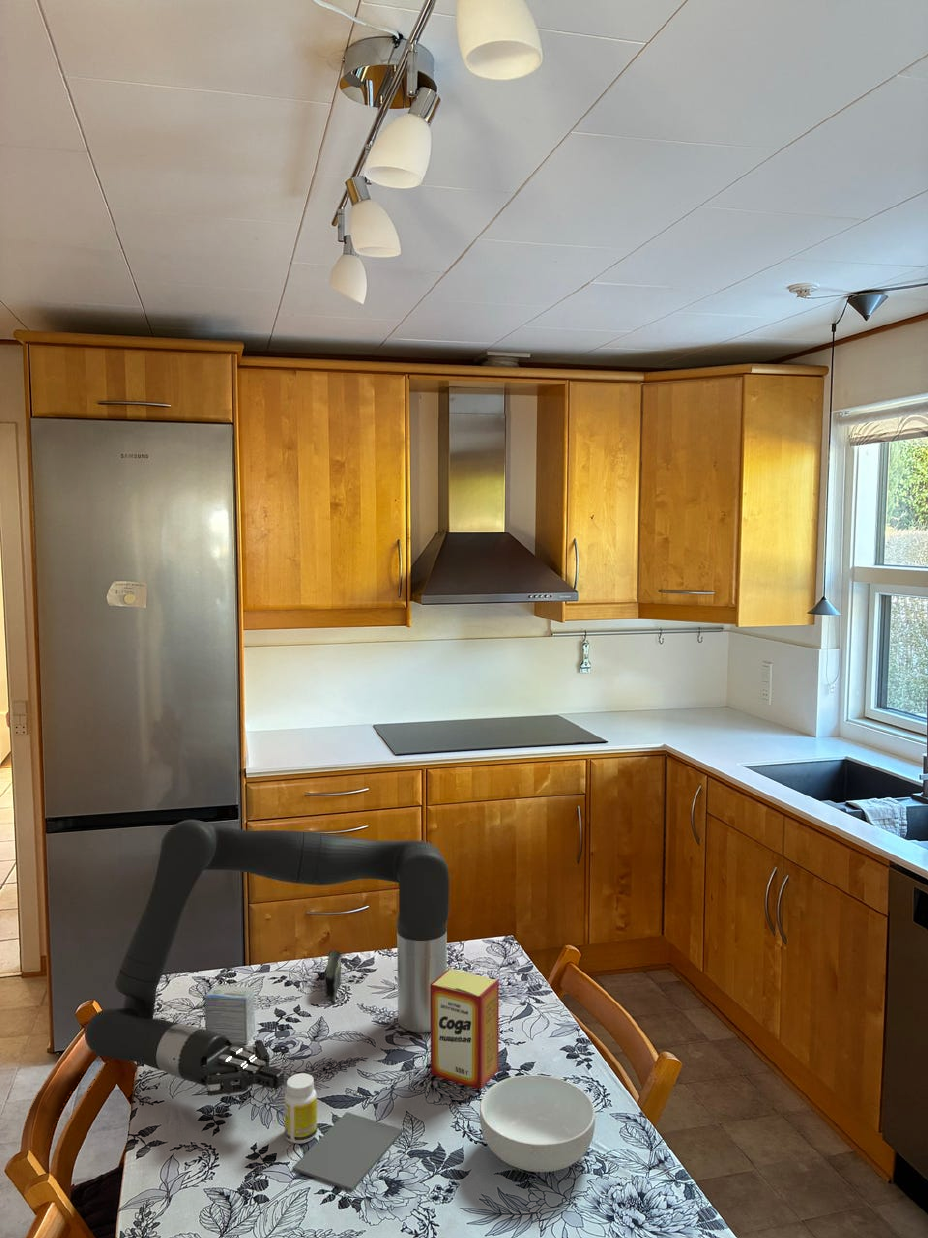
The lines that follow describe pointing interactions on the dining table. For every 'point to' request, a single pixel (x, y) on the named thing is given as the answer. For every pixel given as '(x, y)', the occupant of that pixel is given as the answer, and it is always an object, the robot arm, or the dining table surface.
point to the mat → (348, 1151)
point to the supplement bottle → (300, 1109)
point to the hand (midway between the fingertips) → (281, 1080)
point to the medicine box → (231, 1012)
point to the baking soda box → (464, 1028)
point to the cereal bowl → (537, 1122)
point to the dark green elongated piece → (333, 975)
